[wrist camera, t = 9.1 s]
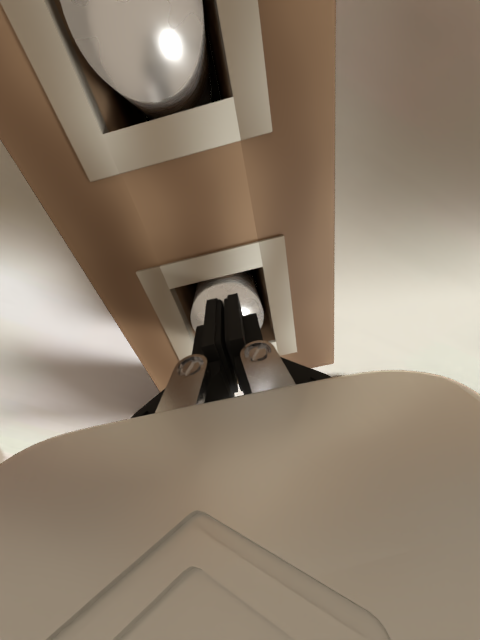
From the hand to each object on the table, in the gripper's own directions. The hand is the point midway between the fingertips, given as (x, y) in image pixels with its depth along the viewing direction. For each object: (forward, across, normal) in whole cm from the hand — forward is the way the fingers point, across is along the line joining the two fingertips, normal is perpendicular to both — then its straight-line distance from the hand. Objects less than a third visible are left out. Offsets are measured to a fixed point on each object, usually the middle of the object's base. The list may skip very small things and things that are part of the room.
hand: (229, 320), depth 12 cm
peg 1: (+7, 0, -11) cm, 13 cm away
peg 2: (+7, 0, 0) cm, 7 cm away
